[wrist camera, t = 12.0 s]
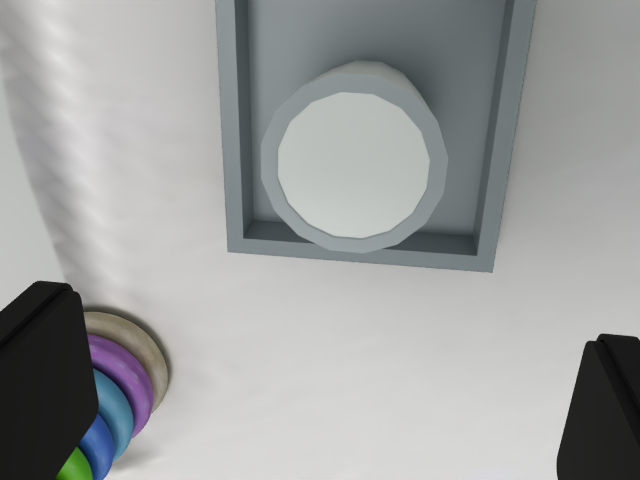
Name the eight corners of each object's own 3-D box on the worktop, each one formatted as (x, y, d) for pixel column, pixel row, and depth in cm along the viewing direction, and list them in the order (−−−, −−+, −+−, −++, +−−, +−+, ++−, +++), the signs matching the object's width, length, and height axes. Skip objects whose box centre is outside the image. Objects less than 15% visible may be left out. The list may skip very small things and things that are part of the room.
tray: (526, -26, 25) (540, -23, 23) (484, 244, 31) (492, 272, 28) (232, -34, 27) (213, -32, 24) (242, 227, 32) (227, 252, 30)
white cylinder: (471, 108, 27) (490, 154, 21) (376, 217, 30) (368, 287, 24) (350, 11, 26) (332, 30, 20) (263, 134, 29) (223, 184, 23)
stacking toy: (22, 341, 38) (-288, 654, 21) (111, 282, 35) (-164, 589, 18) (108, 428, 40) (-110, 775, 23) (198, 379, 37) (25, 732, 20)
